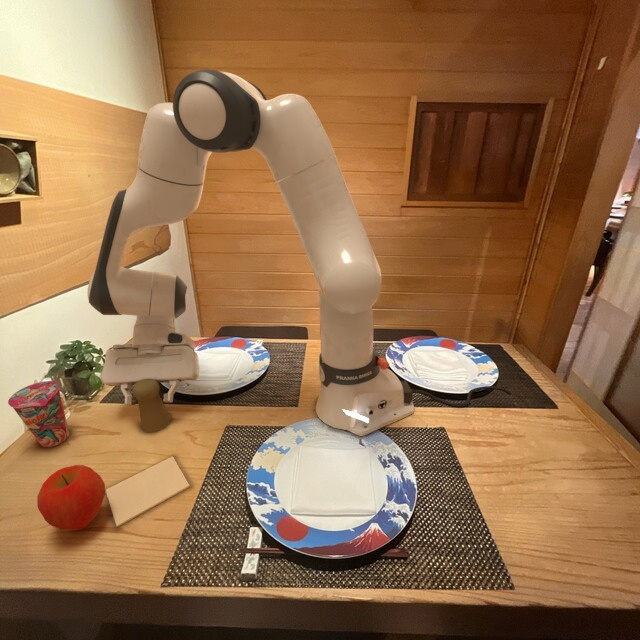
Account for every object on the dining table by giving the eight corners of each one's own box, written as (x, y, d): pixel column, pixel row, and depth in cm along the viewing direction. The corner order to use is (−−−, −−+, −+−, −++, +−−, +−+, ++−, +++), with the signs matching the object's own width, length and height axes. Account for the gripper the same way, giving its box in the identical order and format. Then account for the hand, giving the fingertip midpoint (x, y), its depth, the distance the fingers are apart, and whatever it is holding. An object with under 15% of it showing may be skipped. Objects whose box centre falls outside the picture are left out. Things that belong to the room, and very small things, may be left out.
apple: (123, 499, 62) (106, 453, 58) (96, 547, 55) (73, 499, 50) (75, 500, 63) (54, 454, 58) (41, 549, 55) (13, 500, 50)
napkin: (173, 457, 71) (172, 455, 71) (189, 486, 64) (189, 485, 64) (106, 491, 64) (105, 489, 64) (117, 527, 58) (116, 526, 57)
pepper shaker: (160, 434, 77) (147, 392, 72) (135, 430, 78) (121, 389, 73) (175, 415, 82) (165, 375, 77) (152, 412, 83) (140, 373, 79)
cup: (20, 450, 74) (-4, 403, 69) (56, 422, 81) (37, 378, 76) (56, 457, 72) (34, 409, 67) (90, 428, 79) (72, 383, 74)
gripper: (99, 341, 78) (90, 405, 73) (194, 335, 79) (191, 398, 75) (114, 348, 84) (107, 408, 79) (202, 343, 85) (200, 402, 81)
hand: (148, 403), depth 77 cm, fingers open, 7 cm apart
